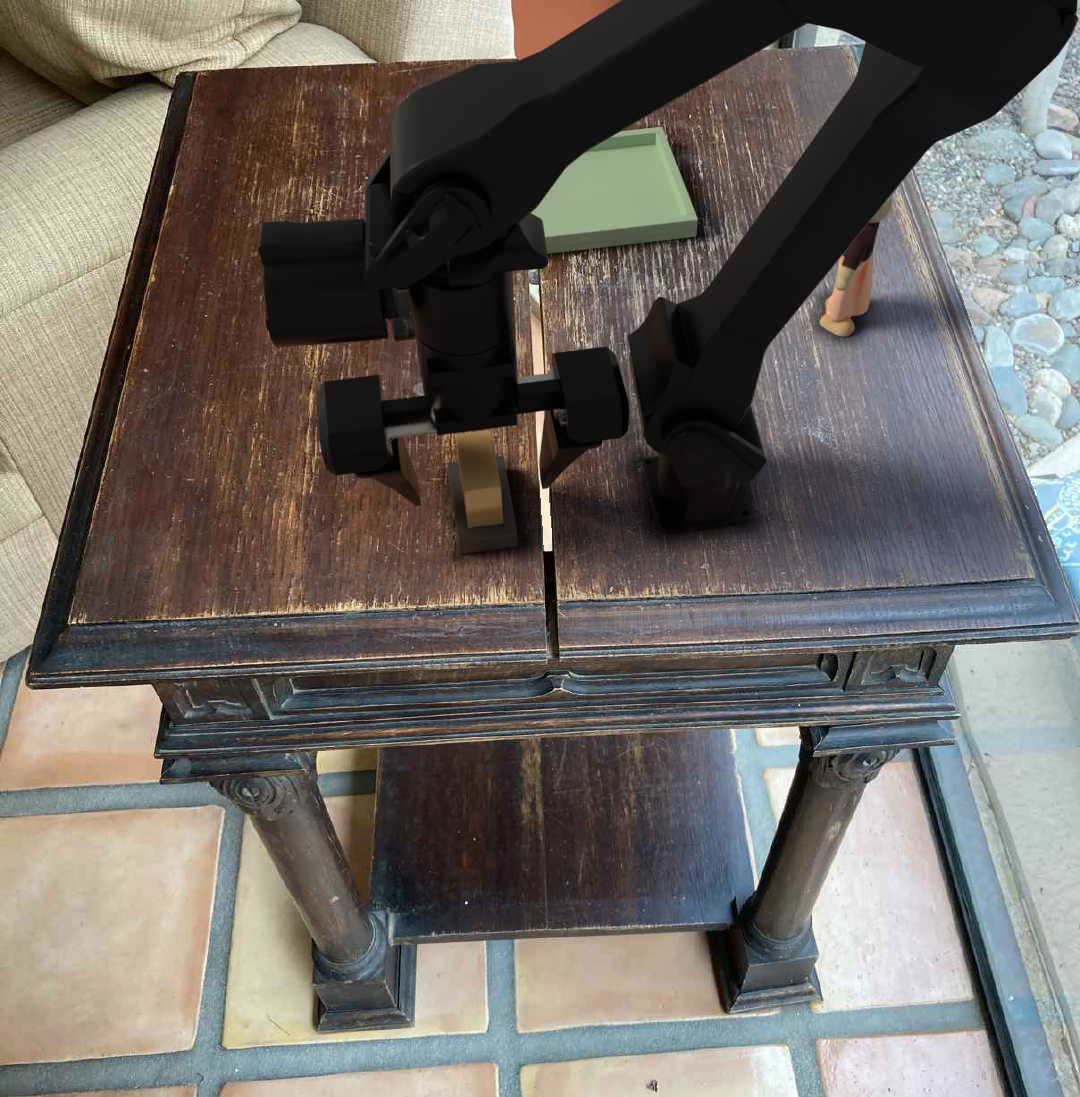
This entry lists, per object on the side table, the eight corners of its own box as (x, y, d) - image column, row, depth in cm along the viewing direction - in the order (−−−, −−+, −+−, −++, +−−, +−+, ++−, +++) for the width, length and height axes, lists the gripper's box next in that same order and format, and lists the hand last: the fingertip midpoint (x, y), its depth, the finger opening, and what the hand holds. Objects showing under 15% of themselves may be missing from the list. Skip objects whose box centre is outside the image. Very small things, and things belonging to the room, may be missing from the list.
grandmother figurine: (864, 348, 82) (908, 212, 72) (814, 342, 82) (851, 206, 72) (866, 283, 86) (908, 146, 76) (819, 278, 87) (854, 141, 76)
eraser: (518, 546, 72) (515, 497, 67) (459, 554, 71) (453, 505, 67) (504, 468, 76) (500, 416, 71) (449, 475, 75) (441, 424, 71)
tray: (696, 236, 90) (698, 219, 88) (446, 265, 88) (444, 248, 87) (660, 143, 98) (662, 126, 96) (430, 169, 96) (428, 151, 95)
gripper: (600, 212, 64) (593, 390, 77) (294, 247, 63) (338, 422, 76) (638, 338, 58) (624, 509, 71) (298, 380, 56) (346, 547, 69)
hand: (481, 492), depth 72 cm, fingers open, 8 cm apart
